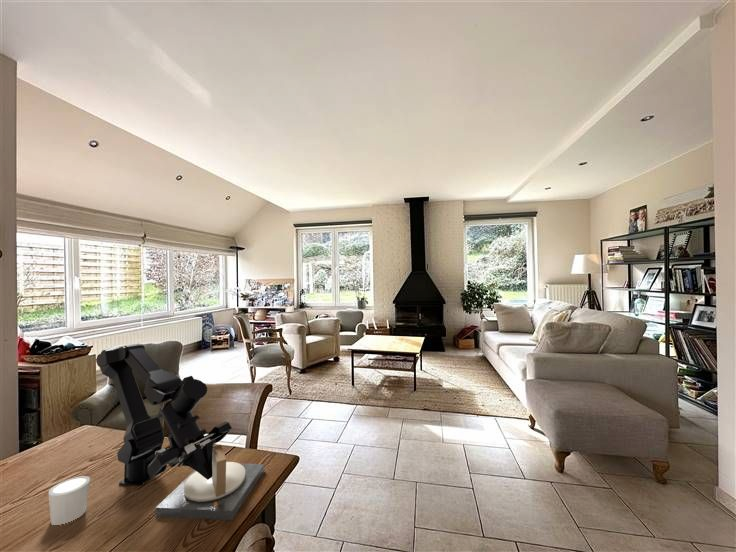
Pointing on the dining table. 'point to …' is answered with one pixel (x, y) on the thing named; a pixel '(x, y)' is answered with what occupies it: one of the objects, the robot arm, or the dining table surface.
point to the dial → (215, 479)
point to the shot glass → (68, 500)
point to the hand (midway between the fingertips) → (210, 478)
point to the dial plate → (212, 509)
